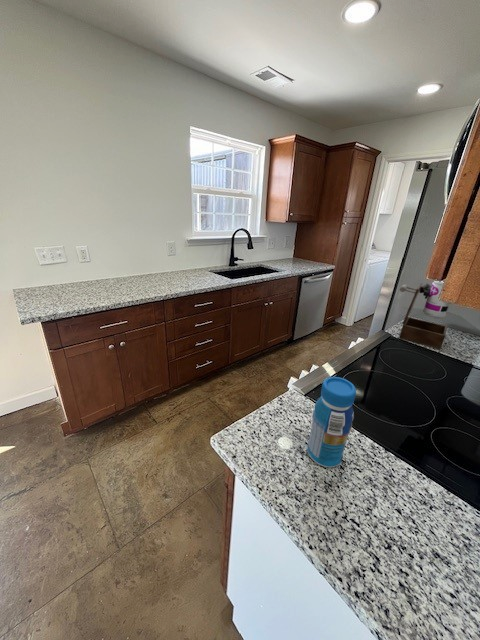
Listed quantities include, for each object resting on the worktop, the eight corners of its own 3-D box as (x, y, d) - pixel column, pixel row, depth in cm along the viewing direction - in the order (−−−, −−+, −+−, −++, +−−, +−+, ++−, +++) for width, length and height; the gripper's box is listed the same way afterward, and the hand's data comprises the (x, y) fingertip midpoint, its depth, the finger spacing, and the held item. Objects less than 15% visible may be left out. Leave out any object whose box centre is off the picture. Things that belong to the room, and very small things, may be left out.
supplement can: (426, 317, 113) (438, 283, 107) (420, 310, 120) (430, 278, 114) (448, 319, 111) (461, 285, 105) (440, 312, 119) (452, 280, 112)
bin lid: (422, 283, 119) (405, 279, 123) (418, 289, 110) (400, 284, 114) (408, 316, 126) (393, 311, 130) (404, 324, 117) (387, 318, 121)
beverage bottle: (299, 450, 64) (310, 383, 56) (319, 433, 69) (332, 369, 61) (329, 476, 58) (347, 405, 50) (349, 455, 63) (368, 387, 55)
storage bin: (442, 339, 121) (447, 326, 118) (440, 350, 112) (445, 335, 109) (403, 329, 129) (407, 316, 127) (398, 338, 120) (402, 324, 118)
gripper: (468, 299, 121) (468, 313, 104) (415, 289, 132) (407, 300, 116) (475, 283, 117) (475, 295, 101) (420, 274, 129) (412, 284, 113)
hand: (439, 298), depth 109 cm, fingers closed on supplement can, 8 cm apart
